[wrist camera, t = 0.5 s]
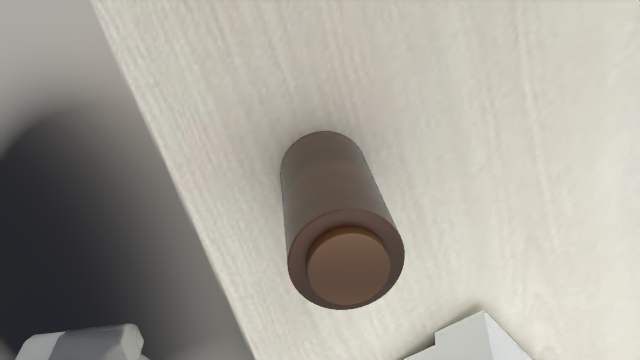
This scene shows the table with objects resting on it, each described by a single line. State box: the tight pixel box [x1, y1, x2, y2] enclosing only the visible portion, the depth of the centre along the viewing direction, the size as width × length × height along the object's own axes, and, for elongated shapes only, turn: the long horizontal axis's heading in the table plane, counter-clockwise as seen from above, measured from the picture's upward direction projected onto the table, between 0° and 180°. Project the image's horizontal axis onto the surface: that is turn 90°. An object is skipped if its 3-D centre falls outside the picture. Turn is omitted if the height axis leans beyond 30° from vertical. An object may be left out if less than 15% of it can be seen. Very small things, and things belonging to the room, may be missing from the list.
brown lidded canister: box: [280, 131, 405, 310], centre depth 25 cm, size 5×5×10 cm
